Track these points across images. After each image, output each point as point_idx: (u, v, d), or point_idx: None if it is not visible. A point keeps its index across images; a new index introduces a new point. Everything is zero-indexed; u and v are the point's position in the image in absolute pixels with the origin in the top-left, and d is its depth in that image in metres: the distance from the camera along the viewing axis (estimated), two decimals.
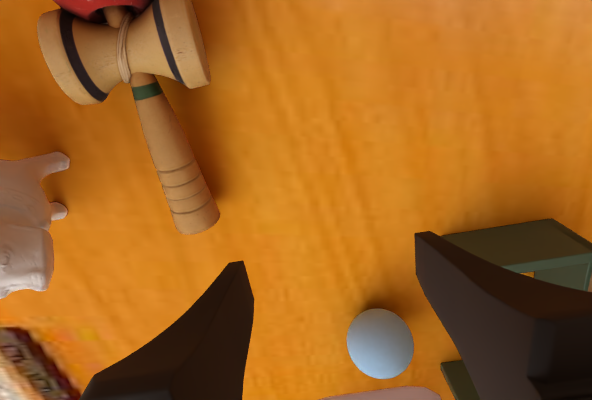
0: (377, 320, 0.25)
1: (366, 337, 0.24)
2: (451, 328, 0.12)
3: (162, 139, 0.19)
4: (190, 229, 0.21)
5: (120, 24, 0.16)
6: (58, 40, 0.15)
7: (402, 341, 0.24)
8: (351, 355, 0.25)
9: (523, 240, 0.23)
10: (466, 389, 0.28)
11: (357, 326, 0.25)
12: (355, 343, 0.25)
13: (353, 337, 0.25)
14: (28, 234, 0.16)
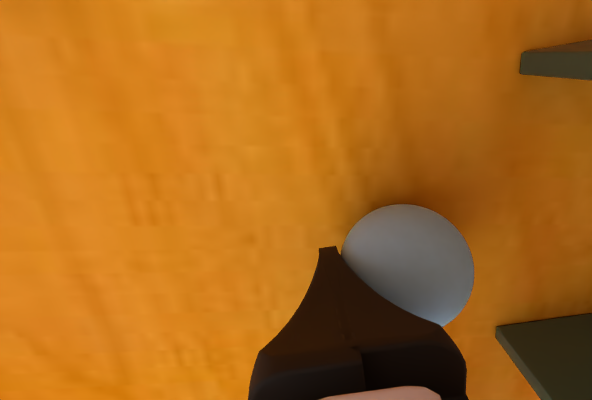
0: (403, 214, 0.12)
1: (386, 245, 0.12)
2: None
3: None
4: None
5: None
6: None
7: (459, 248, 0.12)
8: None
9: None
10: (553, 368, 0.15)
11: (362, 231, 0.12)
12: (364, 262, 0.12)
13: (356, 253, 0.12)
14: None
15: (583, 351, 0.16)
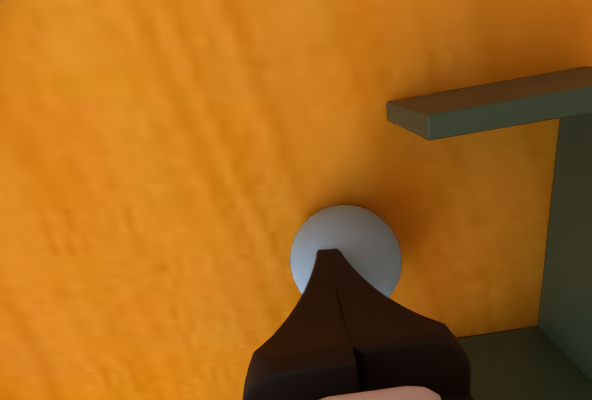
0: (347, 206, 0.15)
1: (370, 222, 0.14)
2: None
3: None
4: None
5: None
6: None
7: None
8: (368, 276, 0.13)
9: (535, 83, 0.12)
10: None
11: (343, 225, 0.14)
12: (368, 242, 0.13)
13: (356, 240, 0.13)
14: None
15: (474, 370, 0.17)
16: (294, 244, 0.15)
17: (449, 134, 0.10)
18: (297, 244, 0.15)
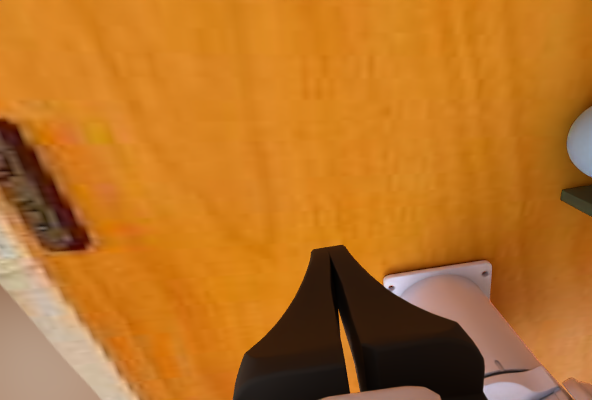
0: None
1: None
2: (350, 343, 0.12)
3: None
4: None
5: None
6: None
7: None
8: None
9: None
10: None
11: None
12: None
13: None
14: None
15: None
16: None
17: None
18: None
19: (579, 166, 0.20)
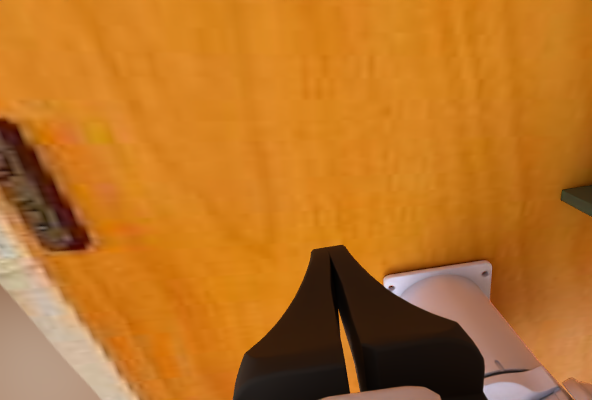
0: None
1: None
2: (350, 343, 0.12)
3: None
4: None
5: None
6: None
7: None
8: None
9: None
10: None
11: None
12: None
13: None
14: None
15: None
16: None
17: None
18: None
19: None
